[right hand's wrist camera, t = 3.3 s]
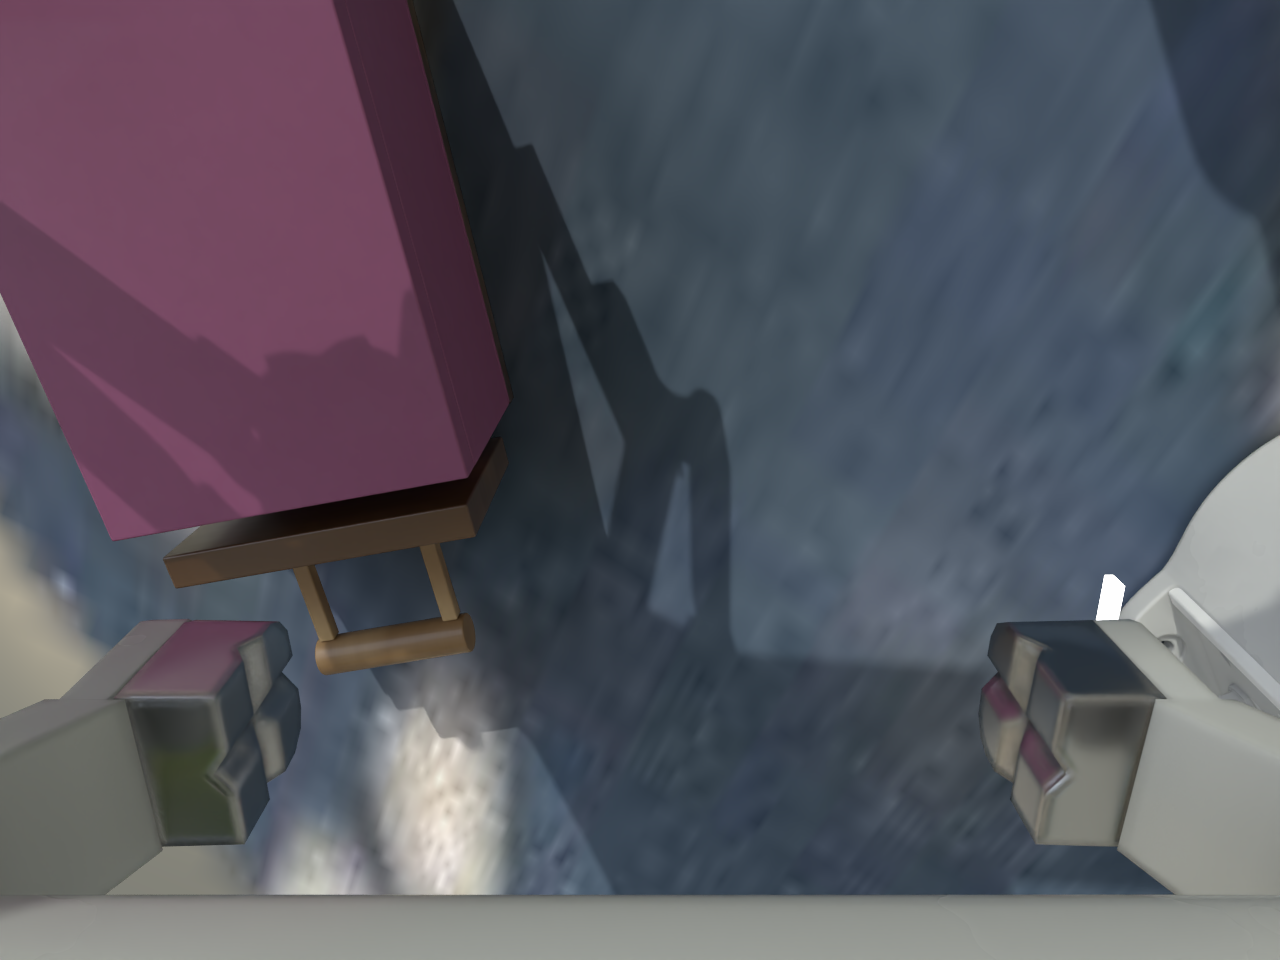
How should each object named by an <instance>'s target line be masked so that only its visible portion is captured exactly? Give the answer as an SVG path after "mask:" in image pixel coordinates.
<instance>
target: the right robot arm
mask: <svg viewBox="0 0 1280 960" xmlns="http://www.w3.org/2000/svg"><path fill="white" fill-rule="evenodd" d="M1124 589H1125V586H1124V585H1123V584H1122V583H1121V582H1120V581H1119V580H1118V579H1117V578H1116V577H1115V576H1114V575H1105V576H1104V581H1103V587H1102V592H1101V597H1100V602H1099V608H1098V613H1097V618H1096V620H1080V621H1039V622H1006V623H997V624H996V626H995V629H994V631H993V633H992V635H991V639H990V644H989V649H988V655H987V656H988V657H989V659H990V660H991V662H992V663H993V665H994V666H995V668H996V669H997V671H998V673H997V674H996V675H995V676H994V677H993V678H992V679H991V680H990V681H989V682H988V683H987V684H986V685H985V686H984V687H983V688H982V691H981V699H980V707H979V724H980V735H981V740H982V744H983V747H984V750H985V753H986V756H987V758H988V760H989V762H990V764H991V765H992V767H993V769H994V771H995V772H997V773H998V774H1000V775H1001V776H1003V777H1005V778H1006V779H1008V780H1009V781H1011V782H1012V783H1013V787H1012V792H1011V798H1010V800H1011V802H1012V803H1013V805H1014V807H1015V809H1016V810H1017V812H1018V814H1019V816H1020V817H1021V819H1022V821H1023V823H1024V825H1025V826H1026V828H1027V830H1028V832H1029V833H1030V835H1031V837H1032V839H1033V840H1034V842H1035V844H1043V845H1080V846H1117V847H1118V849H1117V850H1118V851H1119V852H1120V853H1122V854H1123V855H1124V856H1125V857H1127V858H1128V859H1129V860H1131V861H1132V862H1133V863H1135V864H1136V865H1137V866H1138V867H1140V868H1141V869H1142V870H1144V871H1145V872H1146V873H1148V874H1149V875H1150V876H1151V877H1153V878H1154V879H1155V880H1157V881H1158V882H1159V883H1161V884H1162V885H1163V886H1164V887H1166V888H1167V889H1168V890H1170V891H1171V892H1172V893H1174V894H1175V895H105V894H107V893H108V892H109V891H111V890H112V889H113V888H115V887H116V886H117V885H118V884H120V883H121V882H122V881H124V880H125V879H126V878H128V877H129V876H130V875H131V874H133V873H134V872H135V871H137V870H138V869H139V868H141V867H142V866H143V865H144V864H146V863H147V862H148V861H150V860H151V859H152V858H154V857H155V856H156V855H157V854H159V853H160V852H161V851H162V850H163V849H162V847H163V846H199V845H234V844H245V842H246V841H247V839H248V837H249V835H250V833H251V832H252V830H253V828H254V826H255V825H256V823H257V821H258V819H259V818H260V816H261V814H262V812H263V810H264V809H265V807H266V805H267V803H268V802H269V800H270V798H269V792H268V787H267V783H268V782H269V781H271V780H272V779H274V778H275V777H277V776H279V775H280V774H282V773H283V772H285V771H286V769H287V767H288V765H289V763H290V761H291V760H292V758H293V756H294V754H295V751H296V747H297V742H298V738H299V734H300V729H301V704H300V698H299V691H298V688H297V687H296V686H295V685H294V684H293V683H292V682H291V681H290V680H289V679H288V678H287V677H286V676H285V675H284V674H283V673H282V671H283V669H284V668H285V666H286V665H287V663H288V662H289V660H290V659H291V657H292V656H293V655H292V650H291V645H290V641H289V636H288V631H287V629H286V628H285V627H284V626H283V625H282V624H281V623H280V622H276V621H223V620H193V621H192V620H189V619H173V620H149V621H142V622H139V623H138V624H137V625H136V626H135V627H134V628H133V629H132V630H131V631H130V632H129V633H128V634H127V635H126V636H125V637H124V638H123V639H122V640H121V641H120V642H119V643H118V644H117V645H116V646H115V647H113V648H112V649H111V650H110V651H109V652H108V653H107V654H106V655H105V656H104V657H103V658H102V659H101V660H100V661H99V662H98V663H97V664H96V665H95V666H94V667H93V668H92V669H91V670H90V671H88V672H87V673H86V674H85V675H84V676H83V677H82V678H81V679H80V680H79V681H78V682H77V683H76V684H75V685H74V686H73V687H72V688H71V689H70V690H69V691H68V692H67V693H66V694H65V695H64V696H62V697H61V698H60V699H50V700H49V699H48V700H42V701H40V702H38V703H35V704H33V705H31V706H28V707H26V708H24V709H21V710H19V711H17V712H14V713H12V714H10V715H7V716H5V717H3V718H0V960H1280V435H1279V436H1277V437H1275V438H1274V439H1272V440H1271V441H1269V442H1267V443H1266V444H1264V445H1263V446H1261V447H1260V448H1259V449H1257V450H1256V451H1254V452H1253V453H1252V454H1250V455H1249V456H1248V457H1247V458H1245V459H1244V460H1243V461H1241V462H1240V463H1239V464H1238V465H1237V466H1236V467H1235V468H1234V469H1232V470H1231V471H1230V472H1229V473H1228V474H1227V475H1226V476H1225V477H1224V478H1223V479H1222V480H1221V481H1220V482H1219V483H1218V485H1217V486H1216V487H1215V488H1214V489H1213V490H1212V491H1211V492H1210V494H1209V495H1208V496H1207V498H1206V499H1205V500H1204V501H1203V503H1202V504H1201V505H1200V507H1199V508H1198V510H1197V511H1196V513H1195V514H1194V516H1193V518H1192V519H1191V521H1190V523H1189V524H1188V526H1187V528H1186V530H1185V532H1184V534H1183V536H1182V538H1181V539H1180V541H1179V543H1178V545H1177V547H1176V549H1175V551H1174V553H1173V554H1172V556H1171V558H1170V559H1169V561H1168V562H1167V564H1166V565H1165V567H1164V568H1163V569H1162V570H1161V571H1160V572H1159V573H1158V574H1157V575H1155V576H1154V577H1153V578H1152V579H1151V580H1150V581H1149V582H1148V583H1147V584H1145V585H1144V586H1143V587H1142V588H1141V589H1140V590H1139V591H1138V592H1137V593H1136V594H1135V595H1134V596H1133V597H1132V598H1131V599H1130V600H1129V601H1128V602H1127V603H1126V605H1125V606H1124V607H1123V609H1122V610H1121V611H1120V609H1121V604H1122V599H1123V594H1124ZM1161 641H1164V643H1162V642H1161Z"/></svg>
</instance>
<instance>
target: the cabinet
mask: <svg viewBox="0 0 1280 960" xmlns="http://www.w3.org/2000/svg"><path fill="white" fill-rule="evenodd" d="M0 293H1V295H2V298H3V300H4V302H5V304H6V307H7V309H8V311H9V313H10V315H11V318H12V320H13V322H14V324H15V327H16V329H17V331H18V333H19V335H20V338H21V340H22V342H23V344H24V346H25V349H26V351H27V353H28V355H29V358H30V360H31V362H32V364H33V366H34V369H35V371H36V373H37V375H38V378H39V380H40V382H41V384H42V386H43V389H44V391H45V393H46V395H47V397H48V400H49V402H50V404H51V406H52V409H53V411H54V413H55V415H56V417H57V420H58V422H59V424H60V426H61V429H62V431H63V433H64V435H65V437H66V440H67V442H68V444H69V446H70V449H71V451H72V453H73V455H74V457H75V460H76V462H77V464H78V466H79V468H80V471H81V473H82V475H83V477H84V480H85V482H86V484H87V486H88V488H89V491H90V493H91V495H92V497H93V500H94V502H95V504H96V506H97V508H98V511H99V513H100V515H101V517H102V519H103V522H104V524H105V526H106V528H107V531H108V533H109V535H110V537H111V539H112V541H118V540H124V539H129V538H135V537H141V536H146V535H152V534H157V533H163V532H168V531H174V530H180V529H185V528H191V527H196V526H202V525H207V524H213V523H219V522H224V521H230V520H235V519H241V518H247V517H252V516H258V515H263V514H269V513H274V512H280V511H286V510H291V509H297V508H302V507H308V506H313V505H319V504H325V503H330V502H336V501H341V500H347V499H352V498H358V497H364V496H369V495H375V494H380V493H386V492H392V491H397V490H403V489H408V488H414V487H419V486H425V485H431V484H436V483H442V482H447V481H453V480H458V479H464V478H467V477H468V476H469V474H470V473H471V471H472V469H473V467H474V465H475V464H476V462H477V461H478V459H479V457H480V455H481V453H482V452H483V450H484V448H485V446H486V444H487V443H488V441H489V439H490V437H491V435H492V434H493V432H494V430H495V428H496V426H497V425H498V423H499V421H500V419H501V417H502V416H503V414H504V412H505V410H506V408H507V406H508V404H509V403H511V401H512V399H513V393H512V389H511V385H510V381H509V377H508V373H507V369H506V365H505V361H504V357H503V353H502V349H501V346H500V342H499V338H498V334H497V330H496V326H495V322H494V318H493V314H492V310H491V306H490V302H489V298H488V295H487V291H486V287H485V283H484V279H483V275H482V271H481V267H480V263H479V259H478V255H477V251H476V247H475V244H474V240H473V236H472V232H471V228H470V224H469V220H468V216H467V212H466V208H465V204H464V200H463V196H462V193H461V189H460V185H459V181H458V177H457V173H456V169H455V165H454V161H453V157H452V153H451V149H450V145H449V142H448V138H447V134H446V130H445V126H444V122H443V118H442V114H441V110H440V106H439V102H438V98H437V94H436V91H435V87H434V83H433V79H432V75H431V71H430V67H429V63H428V59H427V55H426V51H425V47H424V44H423V40H422V36H421V32H420V28H419V24H418V20H417V16H416V12H415V8H414V4H413V0H0Z"/></svg>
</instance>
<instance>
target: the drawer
mask: <svg viewBox="0 0 1280 960" xmlns="http://www.w3.org/2000/svg"><path fill="white" fill-rule="evenodd" d="M508 464H509V462H508V458H507V454H506V451H505V447H504V443H503V439H502V437H496V438H490V439H489V441H488V443H487V444H486V446H485V448H484V450H483V452H482V453H481V455H480V457H479V459H478V461H477V462H476V464H475V465H474V467H473V469H472V471H471V473H470V474H469V476H468V477H467V478H464V479H458V480H453V481H447V482H442V483H436V484H431V485H425V486H419V487H414V488H408V489H403V490H397V491H392V492H386V493H380V494H375V495H369V496H364V497H358V498H352V499H347V500H341V501H336V502H330V503H325V504H319V505H313V506H308V507H302V508H297V509H291V510H286V511H280V512H274V513H269V514H263V515H258V516H252V517H247V518H241V519H235V520H230V521H224V522H219V523H213V524H207V525H202V526H200V527H199V528H198V529H197V530H195V531H194V532H193V533H192V534H191V535H189V536H188V537H187V538H186V539H185V540H184V541H182V542H181V543H180V544H179V545H178V546H177V547H175V548H174V549H173V550H172V551H171V552H169V553H168V554H167V555H166V556H165V557H164V558H163V561H164V563H165V565H166V568H167V570H168V572H169V575H170V577H171V579H172V581H173V584H174V586H175V588H183V587H188V586H194V585H200V584H206V583H211V582H217V581H223V580H229V579H235V578H240V577H246V576H252V575H258V574H263V573H269V572H275V571H281V570H286V569H292V568H293V571H294V573H295V576H296V579H297V581H298V584H299V587H300V589H301V592H302V595H303V597H304V600H305V603H306V605H307V608H308V611H309V613H310V616H311V619H312V622H313V624H314V627H315V630H316V632H317V635H318V638H319V640H318V641H317V644H316V648H315V658H316V663H317V666H318V669H319V670H320V672H321V673H322V674H324V675H331V674H337V673H343V672H349V671H356V670H362V669H368V668H374V667H380V666H387V665H393V664H399V663H405V662H411V661H417V660H424V659H430V658H436V657H442V656H448V655H455V654H461V653H467V652H471V651H473V649H474V646H475V629H474V625H473V621H472V619H471V617H470V615H469V614H468V613H461V614H460V609H459V606H458V603H457V599H456V596H455V593H454V589H453V586H452V583H451V580H450V576H449V573H448V570H447V566H446V563H445V560H444V557H443V553H442V550H441V547H440V544H439V543H442V542H448V541H454V540H460V539H465V538H471V537H475V536H476V535H477V532H478V530H479V528H480V526H481V523H482V521H483V519H484V517H485V515H486V512H487V510H488V508H489V506H490V504H491V501H492V499H493V497H494V495H495V493H496V490H497V488H498V486H499V484H500V482H501V479H502V477H503V475H504V473H505V471H506V468H507V466H508ZM413 547H420V550H421V553H422V556H423V559H424V563H425V566H426V569H427V572H428V575H429V579H430V582H431V585H432V588H433V591H434V594H435V598H436V601H437V604H438V607H439V610H440V614H441V617H437V618H431V619H425V620H419V621H413V622H407V623H401V624H395V625H389V626H383V627H377V628H371V629H365V630H359V631H353V632H347V633H341V634H338V633H339V631H338V628H337V625H336V623H335V620H334V617H333V614H332V612H331V609H330V606H329V603H328V601H327V598H326V595H325V593H324V590H323V587H322V584H321V582H320V579H319V576H318V573H317V571H316V568H315V564H321V563H327V562H333V561H338V560H344V559H350V558H356V557H362V556H367V555H373V554H379V553H385V552H390V551H396V550H402V549H408V548H413Z"/></svg>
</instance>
